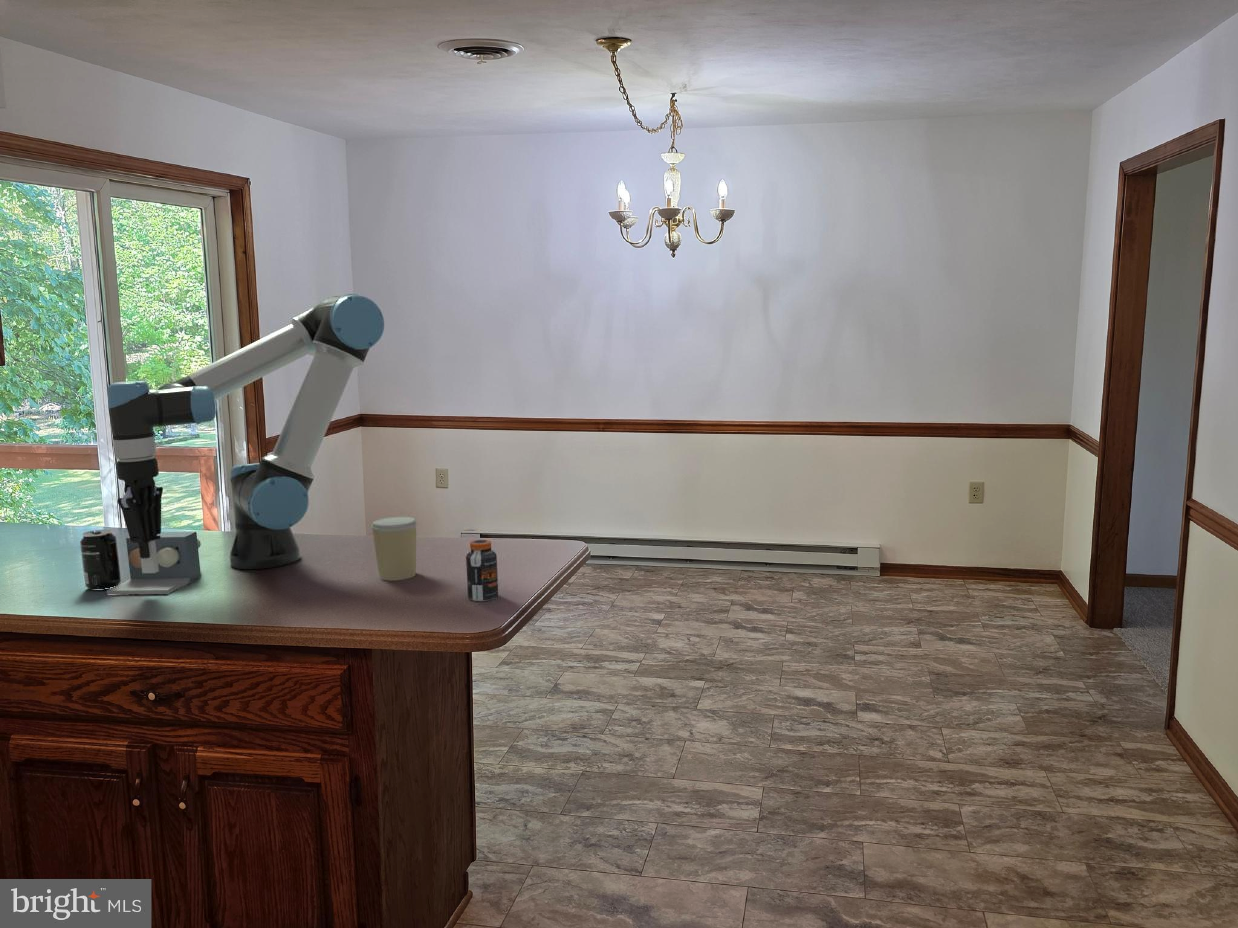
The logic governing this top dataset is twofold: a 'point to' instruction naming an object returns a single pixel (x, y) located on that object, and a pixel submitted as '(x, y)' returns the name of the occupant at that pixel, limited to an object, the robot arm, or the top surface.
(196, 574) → the mount
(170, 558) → the knob ivory
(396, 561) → the coffee cup
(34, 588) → the top surface
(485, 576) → the pill bottle
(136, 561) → the tan flanged peg
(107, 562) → the beverage can
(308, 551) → the top surface
